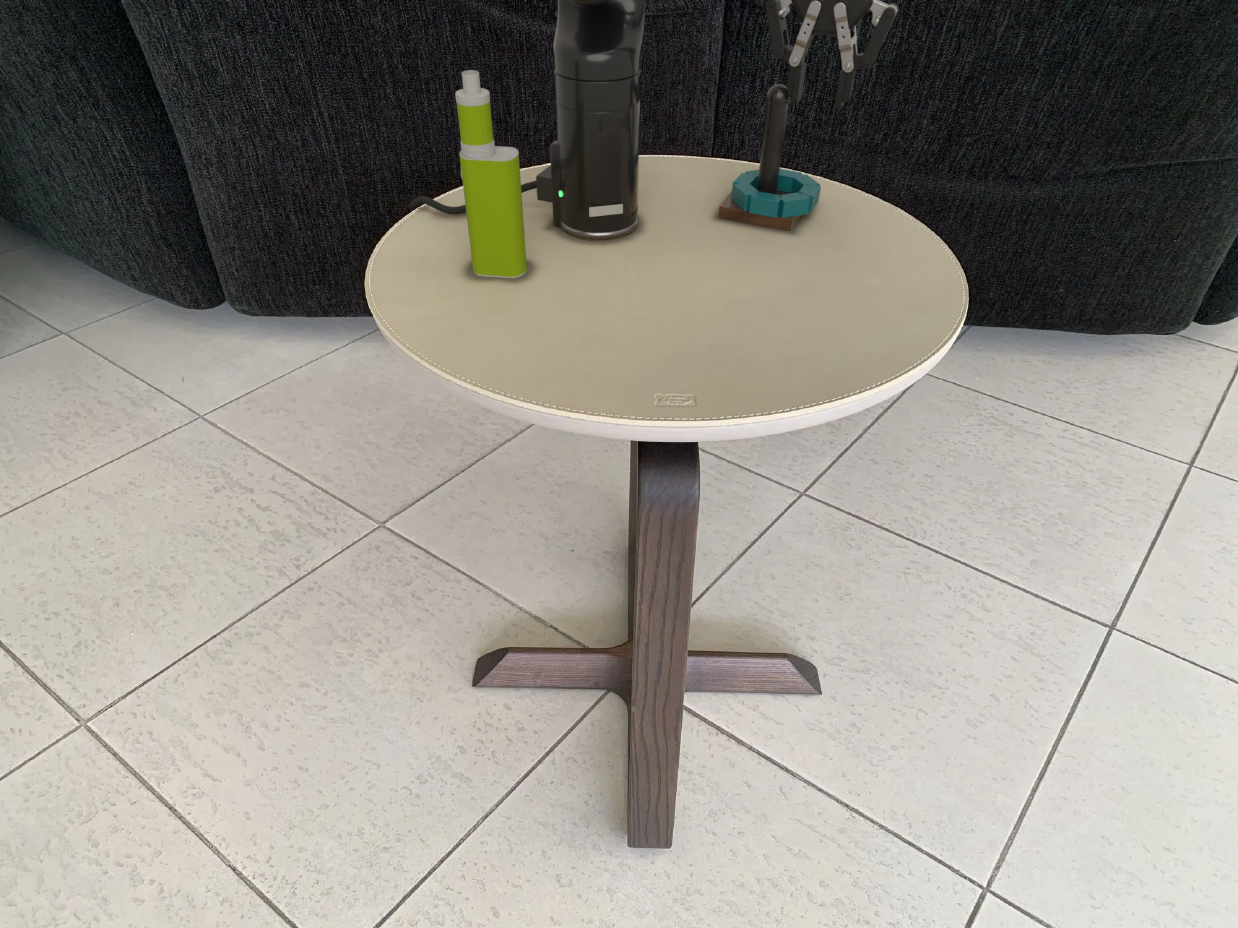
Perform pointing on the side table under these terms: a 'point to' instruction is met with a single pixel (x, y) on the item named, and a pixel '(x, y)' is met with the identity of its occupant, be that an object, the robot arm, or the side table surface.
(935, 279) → the side table surface
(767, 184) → the peg stand
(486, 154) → the vape
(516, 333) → the side table surface
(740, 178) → the ring
